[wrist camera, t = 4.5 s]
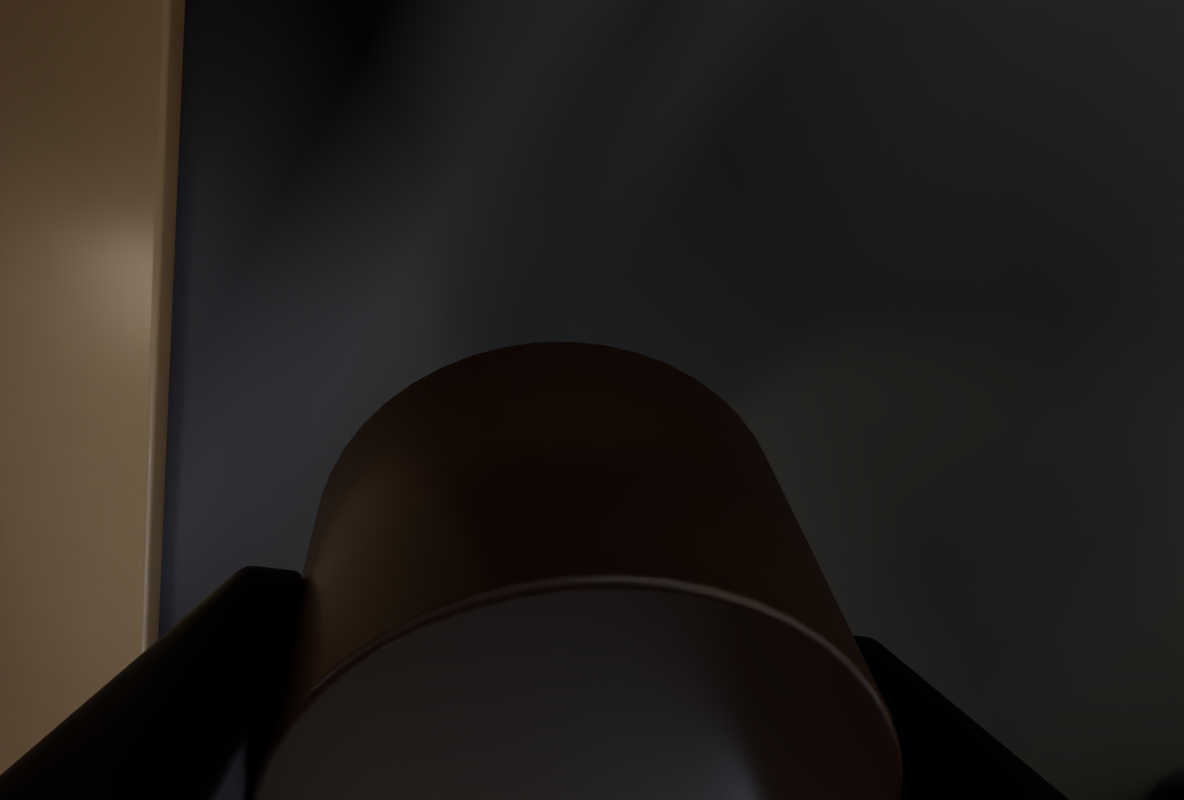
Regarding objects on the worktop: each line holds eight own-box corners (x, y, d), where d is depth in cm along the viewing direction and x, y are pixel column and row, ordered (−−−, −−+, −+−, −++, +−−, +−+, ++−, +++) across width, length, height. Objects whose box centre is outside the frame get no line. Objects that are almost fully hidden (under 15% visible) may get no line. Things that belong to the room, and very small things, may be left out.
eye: (841, 380, 8) (1011, 624, 6) (707, 735, 10) (790, 1047, 7) (344, 297, 8) (272, 534, 5) (294, 697, 9) (221, 1029, 7)
